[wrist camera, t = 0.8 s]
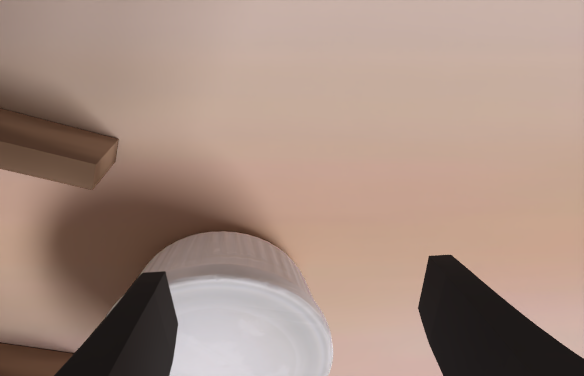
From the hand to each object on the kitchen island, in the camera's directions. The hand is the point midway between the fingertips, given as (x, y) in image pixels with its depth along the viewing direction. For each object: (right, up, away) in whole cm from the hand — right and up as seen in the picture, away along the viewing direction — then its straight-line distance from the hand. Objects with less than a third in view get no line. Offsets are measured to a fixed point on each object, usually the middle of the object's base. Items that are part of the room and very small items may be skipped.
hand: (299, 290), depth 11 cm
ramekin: (-4, -3, +13) cm, 14 cm away
